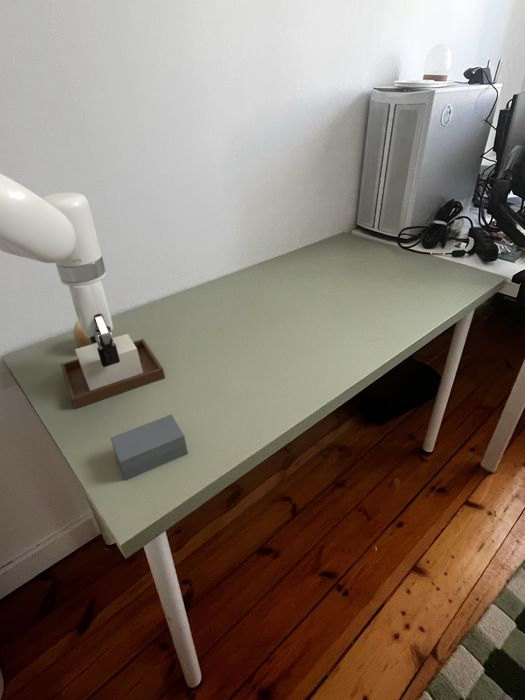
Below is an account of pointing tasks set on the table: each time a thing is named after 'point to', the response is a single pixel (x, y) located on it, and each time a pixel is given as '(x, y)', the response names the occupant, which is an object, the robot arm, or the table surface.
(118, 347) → the white book
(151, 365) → the book tray
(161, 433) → the grey book upper
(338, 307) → the table surface
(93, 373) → the white book upper
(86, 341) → the fruit
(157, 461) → the grey book lower
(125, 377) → the white book lower
